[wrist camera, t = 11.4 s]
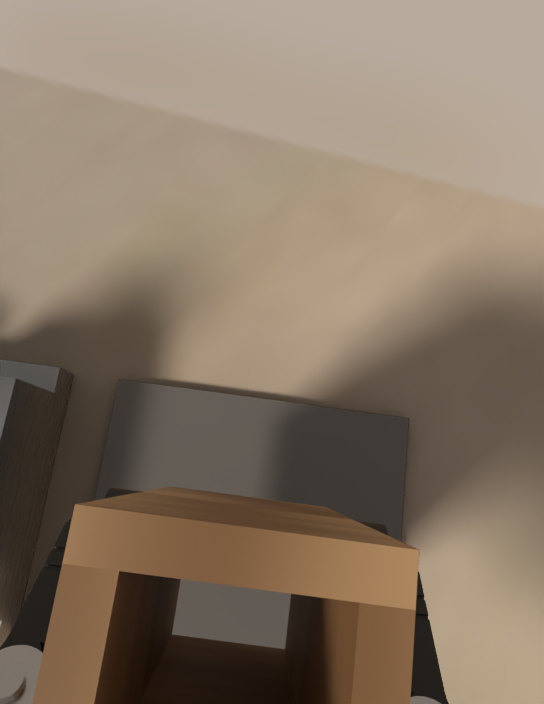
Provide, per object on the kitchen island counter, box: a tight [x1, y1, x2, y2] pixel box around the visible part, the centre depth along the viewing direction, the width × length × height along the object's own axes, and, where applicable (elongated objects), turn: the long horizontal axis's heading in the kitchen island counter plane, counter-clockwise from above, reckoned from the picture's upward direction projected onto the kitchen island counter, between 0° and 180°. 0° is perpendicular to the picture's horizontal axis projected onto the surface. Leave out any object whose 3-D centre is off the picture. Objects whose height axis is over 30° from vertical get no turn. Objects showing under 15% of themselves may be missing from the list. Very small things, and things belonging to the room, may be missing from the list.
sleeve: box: [32, 486, 419, 704], centre depth 11 cm, size 5×5×9 cm
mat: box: [94, 379, 409, 649], centre depth 19 cm, size 12×12×1 cm
